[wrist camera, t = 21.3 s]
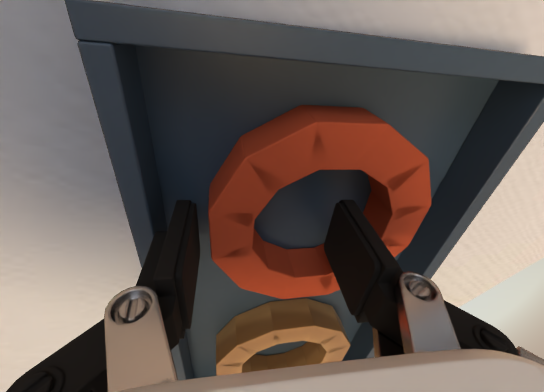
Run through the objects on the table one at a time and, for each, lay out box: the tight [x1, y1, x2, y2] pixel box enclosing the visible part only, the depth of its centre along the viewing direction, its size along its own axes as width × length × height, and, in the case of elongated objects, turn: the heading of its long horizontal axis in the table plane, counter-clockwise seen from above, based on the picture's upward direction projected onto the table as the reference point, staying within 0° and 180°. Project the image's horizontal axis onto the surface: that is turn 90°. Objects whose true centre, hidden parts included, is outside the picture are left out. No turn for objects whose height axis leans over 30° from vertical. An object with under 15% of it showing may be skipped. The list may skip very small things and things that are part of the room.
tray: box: [65, 0, 544, 381], centre depth 16 cm, size 28×16×3 cm, turn 174°
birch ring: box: [216, 298, 350, 376], centre depth 19 cm, size 10×10×2 cm
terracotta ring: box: [208, 105, 431, 299], centre depth 12 cm, size 10×10×2 cm
